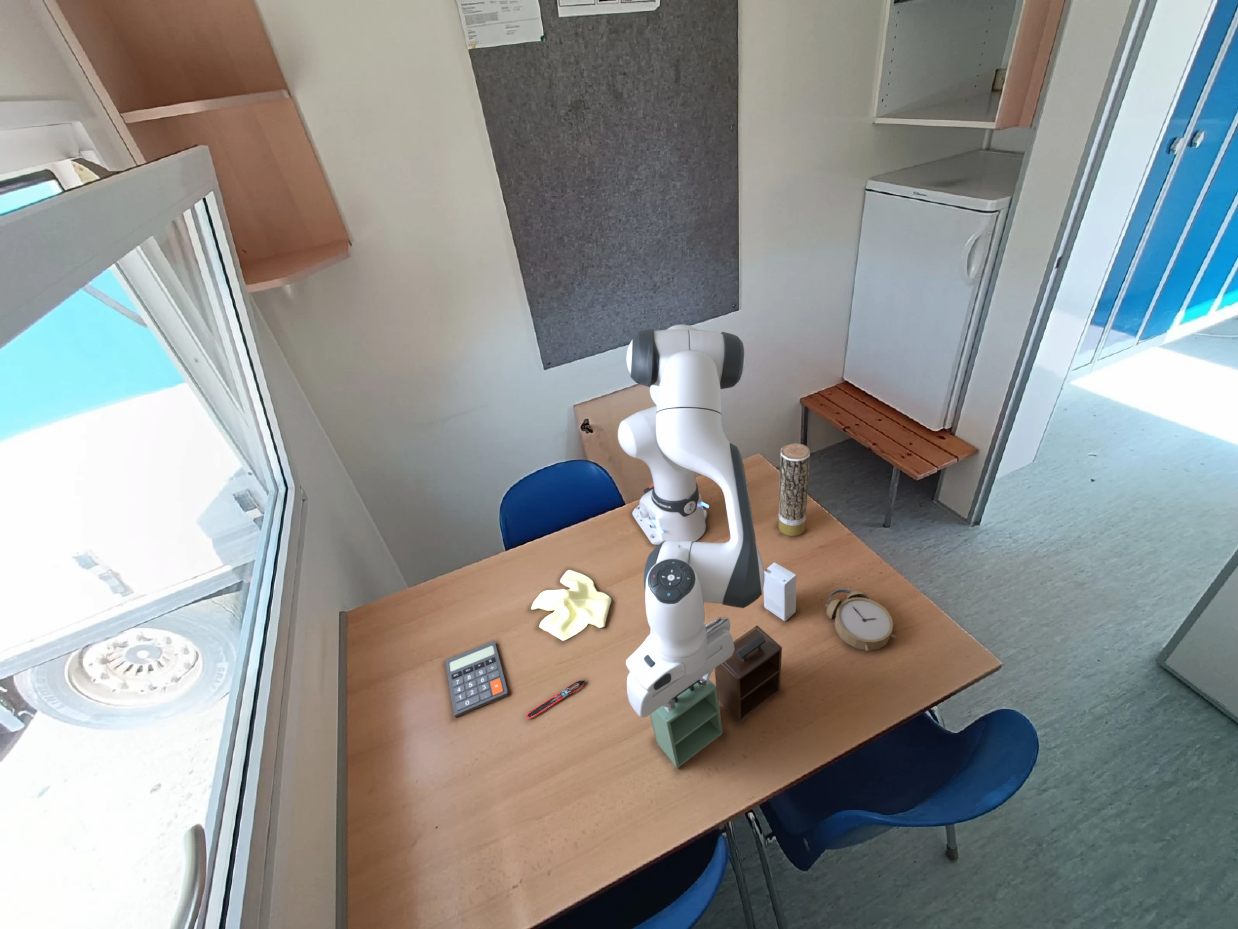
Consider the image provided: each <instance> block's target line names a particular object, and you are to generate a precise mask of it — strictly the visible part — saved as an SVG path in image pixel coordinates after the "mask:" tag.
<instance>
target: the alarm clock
mask: <svg viewBox="0 0 1238 929" xmlns="http://www.w3.org/2000/svg"><path fill="white" fill-rule="evenodd" d="M840 593H847V596H846V599H844V600H841V599H840V598H835V599H832V600H831V598H832V597H833V596H834V595H836V594H840ZM825 607H826V615H827V617H828V618H829V619H830V620H833V619H834V623H833V624H834V628H835V632H836V633H837V635H838V636H839V638H840V639H841V640H843V641H844V643H845V644H848V645H849V646H851V647H853V648H855V649H858V650H862V651H865V652H869V651H875V650H879V649H881V648H883V647H884V646H885V645H887V643H888V642H889V640H890V638H892V639H897V636H896V635H895V634H893V628H894V621H893V617H892V615H891V614H890V612H889V611H888V610H887V608H886V607H884V606H883V605H882V604H880V603H879V602H877V601H875V600H873V599H870V597H869V596H868V594H867V593H866V592H864V591H862V590H853V591H852V590H850V589H847V588H838V589H835V590H832V592H831V593H830V594H829V596H828V602H827V603H826V604H825Z"/></svg>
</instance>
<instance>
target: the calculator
mask: <svg viewBox="0 0 1238 929" xmlns="http://www.w3.org/2000/svg"><path fill="white" fill-rule="evenodd" d="M445 668H446V674H447V682H448V686H449V693H450V700H451V706H452V712H453V716H454V717H456V718H457V717H459V716H462V715H465V714H467V713H469V712H472V711H474V710H476V709H479V708H481V707H483V706H486V705H488V704H491V703H492V702H495V701H497V700H500V699H502V698H504V697H507V696H508V695H509V690H508V686H507V682H506V679H505V675H504V671H503V667H502V664H501V659H500V654H499V651H498V647H497V644H496V641H495V640H493V641H490V642H487V643H485V644H482V645H480V646H478V647H475V648H473V649H470V650H468V651H465V652H462V653H461V654H457V655H455V656H453V657H450V658H447V659H446V660H445Z"/></svg>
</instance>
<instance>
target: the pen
mask: <svg viewBox="0 0 1238 929" xmlns="http://www.w3.org/2000/svg"><path fill="white" fill-rule="evenodd" d="M585 682H586V680H585V679H584V680H580V679H579V680H577V681H575V682H573V683H572V684H570V685H568V686H567V687H566V688H565V689H564V690H560V692H558V693H557V694H554V695H553V696H551V697H550V698H549V699H547V700H545V701H544V702H543V703H541V704H539V705H538V706H536V707H534V708H533V709H531V710H529V711H528V713H527V714H526V716H525V718H526V719H533V718H535V717H536V716H538V715H539V714H541V713H542V712H544V711H545V710H547V709H549V708H550V707H552V706H554V705H555V704H556V703H558V702H560V701H561V700H562V699H565V698H566V697H567V696H569V695H572V694H574V693H575V692H577V691H578V690H580V689H581V688H582V687H583V686H584V684H585Z"/></svg>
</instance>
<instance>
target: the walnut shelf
mask: <svg viewBox="0 0 1238 929" xmlns="http://www.w3.org/2000/svg"><path fill="white" fill-rule="evenodd" d="M733 643H734V653H733V654H732V656H731V657H730V658H729V659H727V660H726V661H724V662H723V663H722V664H720V665H719V666H717V667H716V668H714V676H715V677H714V678H715V686H716V688H717V695H718V702H720V703H721V704H722V706H723V707H724V708H725V709H726V710H727V711H728V712H729V713H730V714H731V715H732V717H733V718H734V719H735V720H736V721H737V722H738V723H741V721H743V720H744V719H746V718H747V717H748V716H749V715H751V714H752V713H753V712H755V711H756V710H757V709H758V708H760V707H761V706H762V705H764V704H765V703H767V701H769V700H770V699H771V698H773V697H774V696H776V694H778V693H779V692H781V683H782V682H781V680H782V658H783V646H781V645H780V644H779V643H778V642H777V641H775V639H773V637H771V636H770V635H769V634H768V633H767V632H766V631H764V630H763V629H762V628H761V627H760V626H759V625H755V626H754V627H753V628H751V629H750V630H748V631H747V632H745V633H744V634H743V635H741V636H739V637H738V638H737V639H735V640H733Z"/></svg>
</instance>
